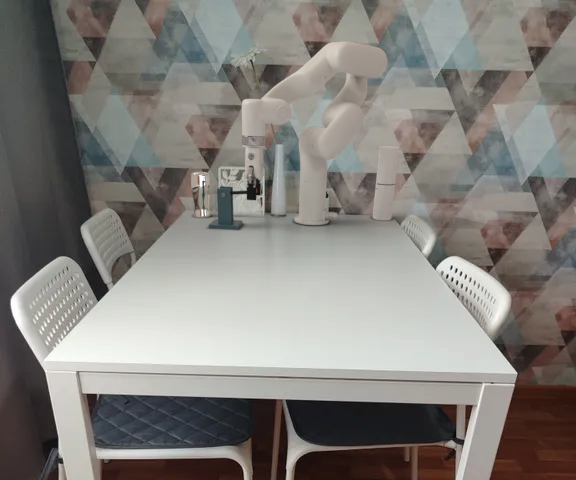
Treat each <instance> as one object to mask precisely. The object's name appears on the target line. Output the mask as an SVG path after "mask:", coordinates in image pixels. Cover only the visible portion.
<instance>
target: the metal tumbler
mask: <svg viewBox="0 0 576 480" xmlns="http://www.w3.org/2000/svg"><path fill="white" fill-rule="evenodd" d="M210 176H211V175H210V172H208V171H207V172H206V171H195V172H191V173H190V188H191V194H192V198H193V204H194V212H193V217H195V218H201V219H202V218H210V217H211V211H210V210H211V209H210V198H211V178H210Z"/></svg>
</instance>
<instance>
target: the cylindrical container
mask: <svg viewBox="0 0 576 480" xmlns="http://www.w3.org/2000/svg"><path fill="white" fill-rule="evenodd" d="M399 155H400V146H393V145H380V146H379V147H378V158H377V168H376V179H375V188H374V198H373V207H372V208H373V209H372V219H373V220H377V221H390V220H392V217H393V210H394V209H393V208H394V199H395V191H396V183H397V174H398V165H399Z"/></svg>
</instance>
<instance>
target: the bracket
mask: <svg viewBox="0 0 576 480" xmlns="http://www.w3.org/2000/svg"><path fill="white" fill-rule="evenodd" d="M230 191H234V187H233V186H225V185H224V186H222V185H219V187H217V188H216V198H217V199H216V200H217V218H214V219H213V220H212V221H211V222H210V223H209V224H208V228H209V229H215V230H216V229H217V230H235V231H238V230H239V229H240V228H241V226H242V225H243V223H244V222H243V220H242V219H241V220H239V219H234V195H231V192H230Z"/></svg>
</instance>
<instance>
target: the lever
mask: <svg viewBox="0 0 576 480" xmlns="http://www.w3.org/2000/svg"><path fill="white" fill-rule="evenodd" d="M230 192H231V195H233V196H235V195H247V189H246V190H233V191H230ZM256 193H257V189H256Z"/></svg>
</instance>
